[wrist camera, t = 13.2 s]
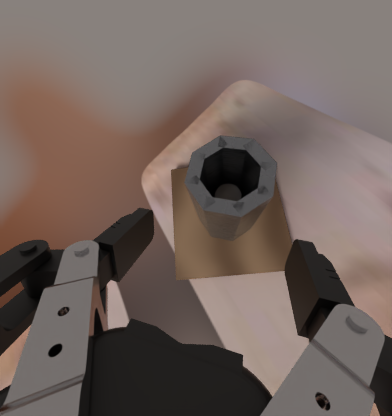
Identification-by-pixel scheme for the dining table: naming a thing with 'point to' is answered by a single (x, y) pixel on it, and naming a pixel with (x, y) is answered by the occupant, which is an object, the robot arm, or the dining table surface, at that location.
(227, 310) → the dining table surface
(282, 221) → the stand
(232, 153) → the sleeve
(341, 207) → the dining table surface
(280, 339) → the dining table surface
